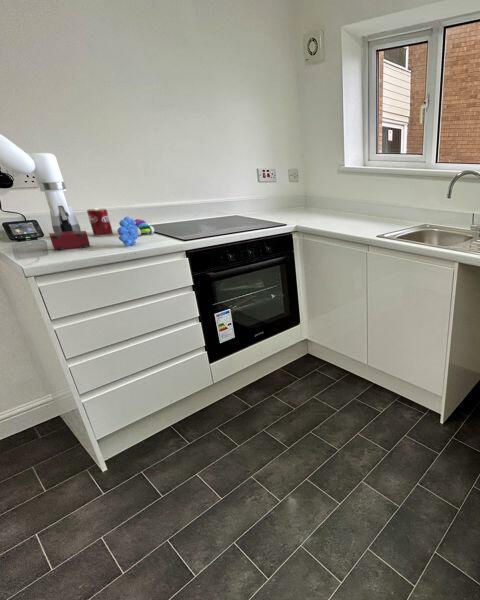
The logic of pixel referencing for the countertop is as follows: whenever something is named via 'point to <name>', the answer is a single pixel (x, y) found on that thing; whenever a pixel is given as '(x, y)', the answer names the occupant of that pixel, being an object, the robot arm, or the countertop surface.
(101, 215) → the soda can
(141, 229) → the multicoloured rounded piece
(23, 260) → the countertop surface
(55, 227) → the smart speaker
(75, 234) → the red boxy piece
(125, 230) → the grapes
